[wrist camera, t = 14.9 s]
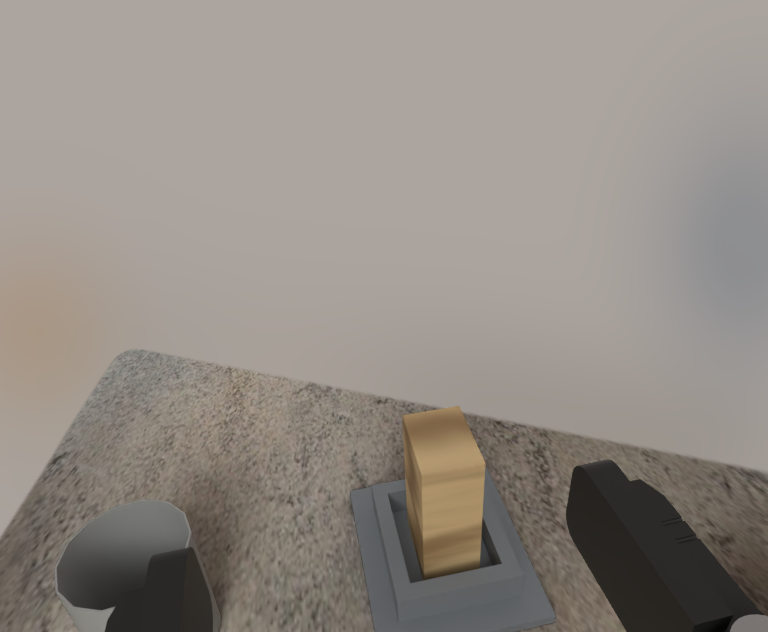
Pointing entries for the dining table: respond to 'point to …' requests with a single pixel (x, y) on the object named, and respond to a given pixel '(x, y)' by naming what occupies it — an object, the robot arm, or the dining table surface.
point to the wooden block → (443, 491)
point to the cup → (119, 559)
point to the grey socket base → (452, 592)
